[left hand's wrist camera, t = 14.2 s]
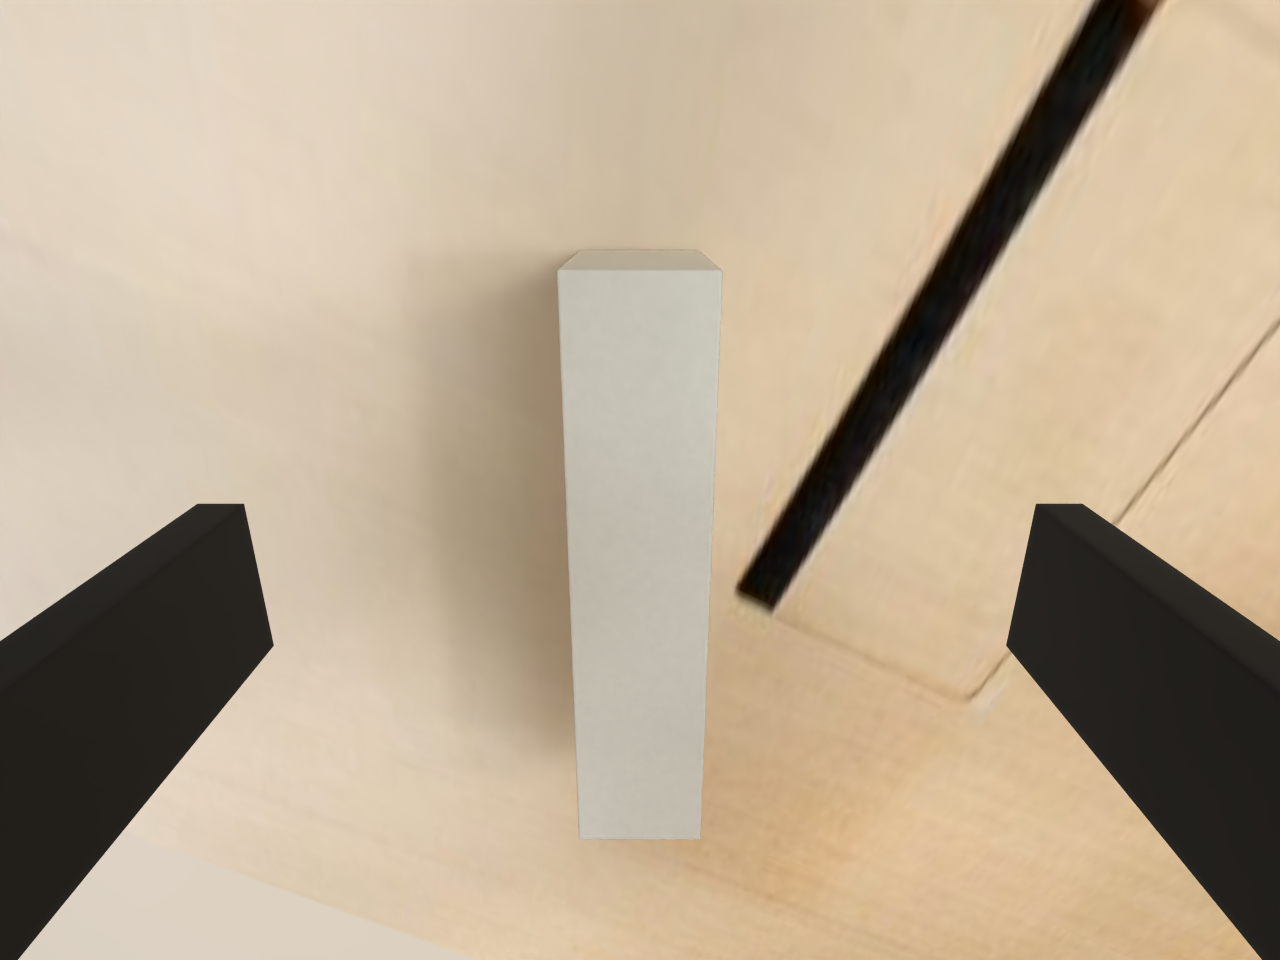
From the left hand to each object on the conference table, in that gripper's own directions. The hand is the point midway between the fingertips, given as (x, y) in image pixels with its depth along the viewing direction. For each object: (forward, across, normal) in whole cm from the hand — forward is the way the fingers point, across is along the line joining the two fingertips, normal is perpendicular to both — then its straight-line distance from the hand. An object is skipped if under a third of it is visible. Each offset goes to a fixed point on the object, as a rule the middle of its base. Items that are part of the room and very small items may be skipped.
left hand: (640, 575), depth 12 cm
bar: (+23, 0, -8) cm, 25 cm away
